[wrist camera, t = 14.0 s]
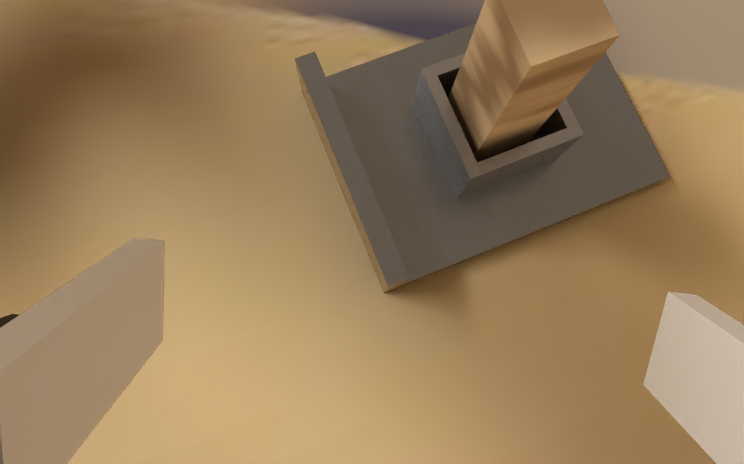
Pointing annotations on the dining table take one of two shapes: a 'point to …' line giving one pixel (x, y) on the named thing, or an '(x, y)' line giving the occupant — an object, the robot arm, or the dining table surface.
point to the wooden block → (525, 67)
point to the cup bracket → (465, 158)
